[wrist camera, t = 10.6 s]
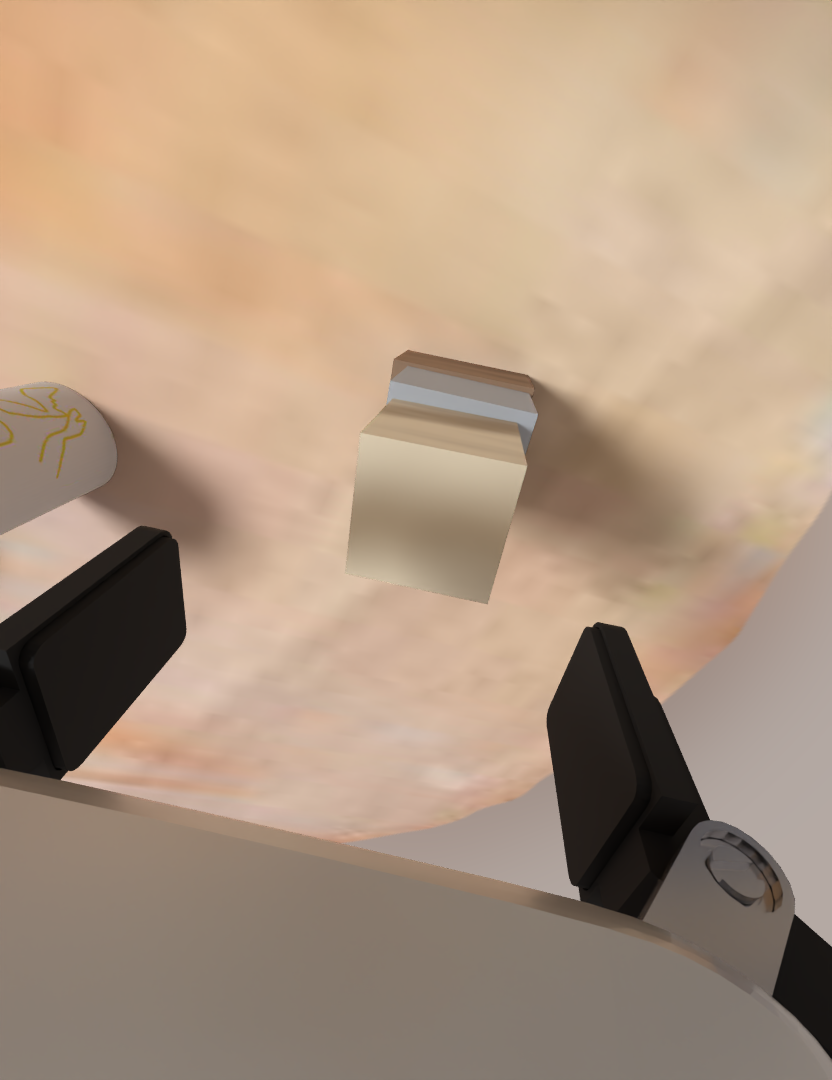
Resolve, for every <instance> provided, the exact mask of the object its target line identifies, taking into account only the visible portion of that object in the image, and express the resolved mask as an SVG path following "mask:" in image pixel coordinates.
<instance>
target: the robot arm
mask: <svg viewBox="0 0 832 1080" xmlns="http://www.w3.org/2000/svg"><path fill="white" fill-rule="evenodd" d="M185 636H186V620H185V610H184V599H183V589H182V579H181V569H180V559H179V548H178V543H177V541H176V540H175V539H172V536H171V534H170V533H169V532H168V531H165V530H160V529H156V528H151V527H146V526H140V527H138V528H136V529H134V530H133V531H132V532H130V533H129V534H127V535H126V536H124V537H123V538H122V539H120V540H119V541H117V542H116V543H114V544H113V545H112V546H110V547H109V548H107V549H106V550H104V551H103V552H102V553H100V554H99V555H97V556H96V557H94V558H93V559H92V560H90V561H89V562H87V563H86V564H84V565H83V566H82V567H80V568H79V569H77V570H76V571H75V572H73V573H72V574H70V575H69V576H67V577H66V578H65V579H63V580H62V581H60V582H59V583H57V584H56V585H55V586H53V587H52V588H50V589H49V590H47V591H46V592H45V593H43V594H42V595H40V596H39V597H37V598H36V599H35V600H33V601H32V602H30V603H29V604H27V605H26V606H25V607H23V608H22V609H20V610H19V611H18V612H16V613H15V614H13V615H12V616H10V617H9V618H8V619H6V620H5V621H3V622H2V623H0V1080H832V947H831V946H830V945H829V944H828V943H827V942H826V941H824V940H823V939H822V938H821V937H820V936H819V935H817V933H815V932H814V931H813V930H812V929H811V928H809V926H807V925H806V924H805V923H804V922H803V921H802V920H801V919H800V918H798V917H797V916H796V915H795V914H794V913H795V898H794V895H793V892H792V888H791V885H790V883H789V881H788V879H787V877H786V876H785V874H784V872H783V870H782V869H781V867H780V866H779V865H778V863H777V862H776V861H775V860H774V858H773V857H772V856H771V855H770V854H769V852H768V851H766V850H765V849H764V848H763V847H762V846H761V845H760V844H759V843H758V842H757V841H755V840H754V839H753V838H752V837H750V836H749V835H747V834H746V833H744V832H743V831H741V830H739V829H738V828H736V827H734V826H731V825H729V824H726V823H724V822H720V821H713V820H710V819H709V817H708V814H707V812H706V809H705V807H704V805H703V803H702V800H701V798H700V795H699V793H698V791H697V788H696V786H695V784H694V781H693V779H692V776H691V774H690V772H689V770H688V767H687V765H686V762H685V760H684V758H683V755H682V753H681V751H680V748H679V746H678V744H677V742H676V739H675V737H674V734H673V732H672V730H671V727H670V725H669V722H668V720H667V718H666V715H665V713H664V711H663V708H662V706H661V704H660V702H659V701H658V699H657V698H656V697H655V696H653V693H652V691H651V688H650V686H649V684H648V681H647V679H646V676H645V674H644V672H643V669H642V667H641V664H640V662H639V660H638V657H637V655H636V652H635V650H634V648H633V645H632V643H631V640H630V638H629V636H628V633H627V631H626V630H625V628H623V627H619V626H614V625H609V624H604V623H600V622H597V623H595V624H594V626H593V627H586V628H585V629H584V631H583V633H582V635H581V637H580V639H579V642H578V644H577V646H576V648H575V651H574V653H573V655H572V657H571V660H570V662H569V664H568V666H567V669H566V671H565V673H564V675H563V677H562V680H561V682H560V684H559V686H558V689H557V691H556V693H555V695H554V698H553V700H552V702H551V704H550V707H549V709H548V713H547V730H548V737H549V744H550V751H551V758H552V765H553V772H554V778H555V785H556V792H557V799H558V806H559V813H560V819H561V826H562V833H563V840H564V847H565V853H566V860H567V867H568V874H569V879H570V881H571V884H572V885H573V886H578V887H579V893H580V900H581V901H578V900H574V899H570V898H566V897H562V896H558V895H554V894H550V893H547V892H543V891H539V890H535V889H531V888H526V887H523V886H519V885H515V884H511V883H507V882H503V881H499V880H495V879H491V878H487V877H482V876H478V875H474V874H469V873H465V872H461V871H456V870H452V869H448V868H444V867H440V866H435V865H431V864H427V863H423V862H418V861H414V860H409V859H405V858H401V857H397V856H392V855H388V854H384V853H379V852H376V851H371V850H367V849H363V848H358V847H354V846H350V845H345V844H341V843H337V842H332V841H328V840H324V839H319V838H315V837H311V836H306V835H302V834H297V833H293V832H289V831H284V830H280V829H276V828H271V827H267V826H262V825H258V824H254V823H249V822H245V821H240V820H236V819H232V818H227V817H223V816H218V815H214V814H210V813H205V812H201V811H196V810H192V809H188V808H183V807H179V806H174V805H170V804H165V803H161V802H156V801H152V800H147V799H143V798H138V797H134V796H129V795H125V794H120V793H116V792H111V791H107V790H102V789H98V788H93V787H89V786H84V785H80V784H75V783H71V782H66V781H62V780H61V779H62V777H63V776H64V775H65V774H66V773H67V772H68V771H73V770H75V769H77V768H78V767H79V766H80V765H81V764H82V763H83V762H84V761H85V759H86V758H87V757H88V756H89V755H90V753H91V752H92V751H93V750H94V749H95V747H96V746H97V745H98V744H99V743H100V741H101V740H102V739H103V738H104V737H105V735H106V734H107V733H108V732H109V731H110V729H111V728H112V727H113V726H114V725H115V724H116V722H117V721H118V720H119V719H120V718H121V716H122V715H123V714H124V713H125V712H126V710H127V709H128V708H129V707H130V706H131V704H132V703H133V702H134V701H135V700H136V698H137V697H138V696H139V695H140V694H141V692H142V691H143V690H144V689H145V688H146V686H147V685H148V684H149V683H150V682H151V681H152V679H153V678H154V677H155V676H156V675H157V673H158V672H159V671H160V670H161V669H162V667H163V666H164V665H165V664H166V663H167V661H168V660H169V659H170V658H171V657H172V655H173V654H174V653H175V652H176V651H177V649H178V648H179V647H180V646H181V644H182V643H183V641H184V639H185Z"/></svg>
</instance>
